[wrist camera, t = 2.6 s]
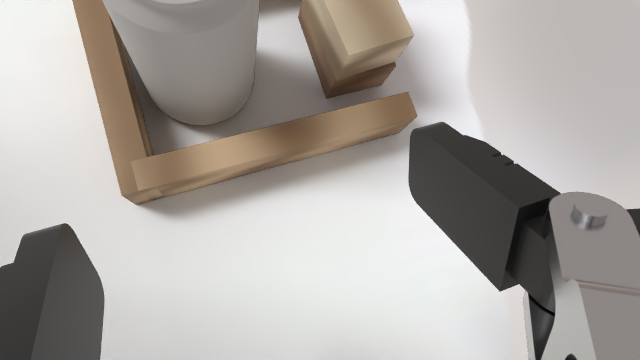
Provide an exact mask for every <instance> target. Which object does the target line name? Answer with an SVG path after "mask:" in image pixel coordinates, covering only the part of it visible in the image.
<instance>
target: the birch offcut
mask: <svg viewBox="0 0 640 360" xmlns="http://www.w3.org/2000/svg"><path fill="white" fill-rule="evenodd" d="M301 2H302V4H303V6H304V9H305V11H306V13H307V15H308V18H309V20H310V22H311V24H312V27H313V29H314V31H315V33H316V36H317V38H318V40H319V42H320V45H321V47H322V49H323V51H324V54H325V56H326V58H327V60H328V63H329V65H330V67H331V69H332V72H333V74H334V76H335V78H336V81H337V80H340V79H343V78H346V77H349V76H353V75H356V74H359V73H362V72H365V71H368V70H371V69H374V68H377V67H380V66H383V65H386V64H389V63H392V62H395V61H396V60H397V58H398V57H399V55H400V54H401V53H402V51H403V50H404V49H405V47H406V46H407V44H408V43H409V42H410V40H411V39H412V37H413V36H414V34H413V32H412V30H411V27H410V25H409V23H408V21H407V19H406V17H405V15H404V13H403V11H402V9H401V7H400V5H399V2H398V0H301Z"/></svg>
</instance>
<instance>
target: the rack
mask: <svg viewBox="0 0 640 360" xmlns="http://www.w3.org/2000/svg"><path fill="white" fill-rule="evenodd" d="M72 1H73V5H74V9H75V13H76V17H77V20H78V24H79V28H80V32H81V36H82V40H83V44H84V48H85V52H86V56H87V60H88V64H89V68H90V72H91V76H92V80H93V84H94V88H95V92H96V96H97V99H98V103H99V107H100V111H101V115H102V119H103V123H104V127H105V131H106V135H107V139H108V143H109V147H110V151H111V155H112V159H113V163H114V167H115V171H116V175H117V178H118V182H119V186H120V190H121V194H122V196H123V197H125V198H126V199H128V200H130V201H131V202H133V203H134V204H136V205H137V204H141V203H145V202H148V201H152V200H156V199H159V198H163V197H166V196H170V195H174V194H177V193H181V192H185V191H188V190H192V189H196V188H199V187H203V186H207V185H210V184H214V183H217V182H221V181H225V180H228V179H232V178H236V177H239V176H243V175H247V174H250V173H254V172H257V171H261V170H265V169H268V168H272V167H276V166H279V165H283V164H287V163H290V162H294V161H298V160H301V159H305V158H308V157H312V156H316V155H319V154H323V153H327V152H330V151H334V150H338V149H341V148H345V147H348V146H352V145H356V144H359V143H363V142H367V141H370V140H374V139H378V138H381V137H385V136H388V135H392V134H396V133H399V132H400V131H402V130H403V129H404V128H405V127H406V126H407V125H408V124H409V123H410V122H412V121H413V120H414V119H415V118H416V117H417V114H416V111H415V109H414V106H413V103H412V101H411V98H410V95H409V93H408V92H405V93H401V94H397V95H393V96H389V97H385V98H381V99H377V100H373V101H369V102H365V103H361V104H357V105H354V106H350V107H346V108H342V109H338V110H334V111H330V112H326V113H322V114H318V115H314V116H310V117H306V118H302V119H298V120H294V121H290V122H286V123H282V124H278V125H274V126H270V127H266V128H262V129H258V130H254V131H250V132H246V133H242V134H238V135H234V136H230V137H226V138H222V139H218V140H214V141H210V142H206V143H202V144H198V145H194V146H190V147H186V148H182V149H178V150H174V151H170V152H166V153H162V154H158V155H153V151H152V148H151V144H150V140H149V136H148V133H147V129H146V125H145V122H144V118H143V114H142V110H141V107H140V103H139V99H138V96H137V92H136V88H135V84H134V81H133V77H132V73H131V70H130V66H129V62H128V58H127V55H126V51H125V47H124V44H123V41H122V39H121V37H120V35H119V33H118V31H117V29H116V27H115V25H114V23H113V21H112V19H111V17H110V15H109V13H108V11H107V9H106V7H105V5H104V3H103V1H102V0H72Z"/></svg>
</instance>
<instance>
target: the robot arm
mask: <svg viewBox="0 0 640 360" xmlns="http://www.w3.org/2000/svg"><path fill="white" fill-rule="evenodd" d="M409 187H410V191H411V194H412V196H413V198H414V200H415V201H416V203H417V204H418V205H419V206H420V207H421V208H422V209H423V210H424V211H425V212H426V214H427V215H428V216H429V217H430V218H431V219H432V220H433V221H434V222H435V223H436V224H437V225H438V226H439V227H440V228H441V230H442V231H443V232H444V233H445V234H446V235H447V236H448V237H449V238H450V239H451V240H452V241H453V242H454V243H455V244H456V245H457V247H458V248H459V249H460V250H461V251H462V252H463V253H464V254H465V255H466V256H467V257H468V258H469V259H470V260H471V261H472V262H473V264H474V265H475V266H476V267H477V268H478V269H479V270H480V271H481V272H482V273H483V274H484V275H485V276H486V277H487V278H488V279H489V281H490V282H491V283H492V284H493V285H494V286H495V287H496V288H497V289H498V290H499V291H503V290H505V289H507V288H510V287H512V286H515V285H518V284H520V285H521V286H522V287H523V288H524V289H525V293H524V297H523V307H524V317H525V328H526V338H527V348H528V359H529V360H640V209H626V210H625V209H624V208H623V207H622V206H620V205H619V204H617V203H616V202H614V201H612V200H610V199H607V198H605V197H602V196H599V195H595V194H591V193H584V192H568V193H563V194H561V193H560V192H558V191H557V190H555V189H553V188H552V187H551V186H549V185H548V184H546V183H545V182H543V181H542V180H540V179H539V178H537V177H536V176H534V175H533V174H532V173H530V172H529V171H527V170H526V169H524V168H523V167H521V166H520V165H518V164H514V161H512V160H511V159H510V158H508V157H506V156H505V155H501V152H499V151H498V150H496V149H495V148H493V147H492V146H490V145H489V144H488V143H486V142H484V141H481V140H478V139H475V138H472V137H469V136H466V135H464V136H463V135H462V134H460V133H459V132H458V131H456V130H455V129H453V128H452V127H451V126H449V125H448V124H446V123H444V122H439V123H435V124H431V125H428V126H424V127H420V128H417V129H414V130H413V131H412V133H411V136H410V153H409ZM103 315H104V291H103V286H102V283H101V280H100V277H99V275H98V273H97V271H96V269H95V268H94V266H93V264H92V262H91V261H90V259H89V257H88V255H87V254H86V252H85V250H84V248H83V247H82V245H81V243H80V241H79V239H78V238H77V236H76V234H75V232H74V231H73V229H72V228H71V227H70V226H69V225H68V224H66V223H64V224H60V225H57V226H53V227H49V228H46V229H42V230H38V231H35V232H31V233H27V234H25V235H24V236H23V237H22V239H21V242H20V245H19V248H18V251H17V254H16V257H15V260H14V263H11V264H8V265H4V266H1V268H0V360H100V354H101V341H102V328H103Z"/></svg>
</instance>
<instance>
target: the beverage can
mask: <svg viewBox="0 0 640 360" xmlns="http://www.w3.org/2000/svg"><path fill="white" fill-rule="evenodd" d="M102 1H103V3H104V5H105V7H106V9H107V11H108V13H109V15H110V17H111V19H112V21H113V23H114V25H115V27H116V29H117V31H118V33H119V35H120V37H121V39H122V41H123V43H124V45H125V47H126V49H127V51H128V53H129V55H130V57H131V59H132V61H133V63H134V65H135V67H136V69H137V71H138V73H139V75H140V77H141V79H142V81H143V83H144V85H145V87H146V89H147V91H148V93H149V95H150V97H151V99H152V100H153V101H154V103H155V104H156V105H157V106H158V107H159V108H160V109H161V110H162V111H163V112H164V113H165V114H167V115H168V116H170V117H172V118H173V119H175V120H178V121H180V122H183V123H187V124H192V125H210V124H215V123H219V122H222V121H224V120H226V119H228V118H230V117H232V116H233V115H235V114H236V113H237V112H238V111H239V110H241V109H242V108H243V106H244V105H245V104H246V102H247V101H248V99H249V97H250V95H251V92H252V89H253V85H254V73H255V59H256V44H257V30H258V16H259V1H260V0H102Z"/></svg>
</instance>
